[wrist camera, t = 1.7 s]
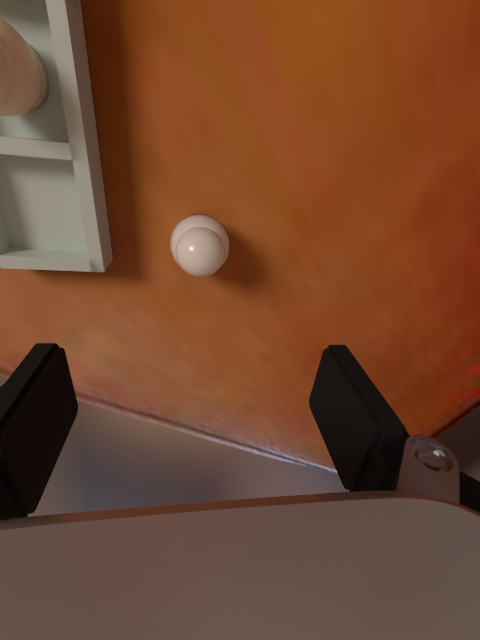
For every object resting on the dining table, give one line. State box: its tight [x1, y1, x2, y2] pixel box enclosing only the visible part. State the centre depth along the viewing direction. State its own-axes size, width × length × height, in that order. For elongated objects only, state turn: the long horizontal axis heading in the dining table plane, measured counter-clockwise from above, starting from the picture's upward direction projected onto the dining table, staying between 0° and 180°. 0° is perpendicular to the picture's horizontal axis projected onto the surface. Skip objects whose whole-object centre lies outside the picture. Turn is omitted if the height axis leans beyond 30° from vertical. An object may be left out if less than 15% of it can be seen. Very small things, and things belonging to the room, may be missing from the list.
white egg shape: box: [170, 214, 229, 277], centre depth 24 cm, size 5×5×6 cm
